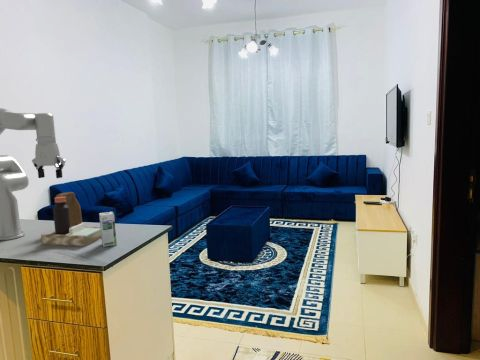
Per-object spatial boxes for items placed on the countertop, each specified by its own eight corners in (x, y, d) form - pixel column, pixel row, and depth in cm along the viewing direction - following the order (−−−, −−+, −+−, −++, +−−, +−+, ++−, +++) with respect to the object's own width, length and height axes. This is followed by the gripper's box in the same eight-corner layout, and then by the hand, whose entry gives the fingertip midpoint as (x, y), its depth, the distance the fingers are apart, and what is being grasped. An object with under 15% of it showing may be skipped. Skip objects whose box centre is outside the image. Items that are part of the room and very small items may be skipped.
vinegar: (56, 241, 171) (52, 199, 169) (55, 238, 177) (51, 197, 175) (72, 239, 175) (68, 197, 172) (70, 236, 180) (67, 195, 178)
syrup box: (103, 247, 163) (100, 215, 161) (101, 243, 168) (98, 212, 166) (116, 245, 166) (114, 213, 164) (114, 241, 171) (112, 210, 169)
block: (64, 234, 186) (60, 195, 183) (57, 232, 191) (52, 193, 188) (84, 229, 194) (80, 191, 191) (77, 227, 199) (73, 190, 196)
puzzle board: (41, 244, 170) (40, 234, 170) (64, 234, 185) (63, 225, 184) (83, 246, 165) (82, 236, 165) (103, 236, 180) (102, 227, 179)
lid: (65, 236, 169) (64, 229, 168) (81, 229, 180) (81, 222, 179) (86, 237, 166) (85, 229, 166) (102, 230, 177) (101, 223, 177)
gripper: (24, 141, 167) (28, 178, 170) (57, 140, 163) (60, 179, 166) (36, 140, 175) (40, 176, 177) (68, 140, 171) (72, 176, 173)
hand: (50, 177), depth 172 cm, fingers open, 9 cm apart
